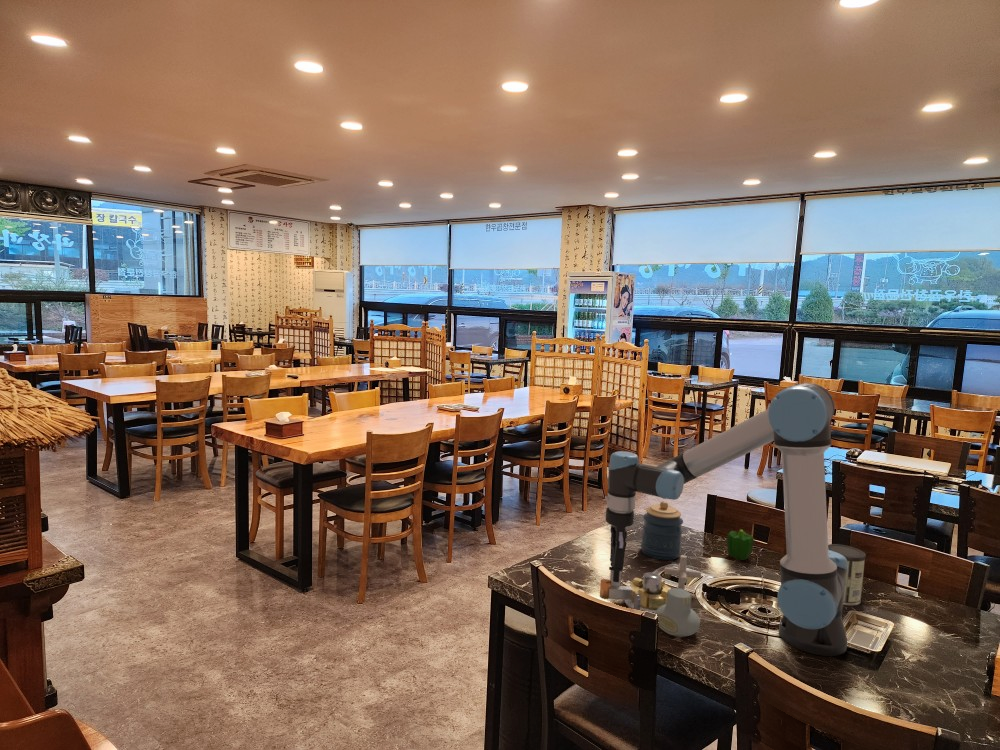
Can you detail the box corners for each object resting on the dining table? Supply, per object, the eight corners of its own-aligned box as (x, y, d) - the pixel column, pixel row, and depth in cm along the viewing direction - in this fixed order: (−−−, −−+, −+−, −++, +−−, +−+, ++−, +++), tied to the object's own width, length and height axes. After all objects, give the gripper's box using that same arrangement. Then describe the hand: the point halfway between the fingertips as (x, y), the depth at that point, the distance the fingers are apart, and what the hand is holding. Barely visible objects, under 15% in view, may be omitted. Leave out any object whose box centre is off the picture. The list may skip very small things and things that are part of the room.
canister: (685, 561, 198) (689, 508, 196) (645, 559, 198) (649, 506, 197) (674, 546, 211) (678, 496, 209) (636, 544, 211) (640, 494, 210)
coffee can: (825, 586, 185) (830, 540, 183) (864, 598, 178) (869, 551, 176) (815, 596, 177) (820, 549, 176) (855, 609, 170) (860, 560, 169)
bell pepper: (729, 550, 210) (731, 522, 209) (754, 556, 205) (757, 527, 204) (721, 557, 203) (724, 528, 202) (747, 564, 198) (750, 534, 197)
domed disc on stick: (665, 590, 173) (666, 575, 173) (676, 609, 162) (677, 593, 162) (596, 587, 173) (597, 572, 173) (602, 606, 162) (603, 590, 162)
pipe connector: (701, 599, 172) (704, 565, 171) (664, 594, 174) (667, 560, 173) (697, 584, 182) (699, 551, 181) (662, 579, 184) (664, 547, 183)
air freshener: (648, 625, 156) (651, 588, 155) (669, 617, 161) (672, 580, 160) (684, 645, 147) (687, 605, 146) (705, 636, 152) (708, 597, 151)
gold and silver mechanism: (688, 609, 166) (690, 580, 165) (632, 628, 154) (635, 598, 153) (648, 588, 178) (650, 561, 177) (594, 605, 166) (596, 576, 165)
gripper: (603, 500, 173) (598, 579, 176) (609, 516, 160) (603, 601, 163) (630, 501, 173) (624, 581, 176) (638, 518, 160) (631, 603, 163)
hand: (614, 590), depth 169 cm, fingers closed
